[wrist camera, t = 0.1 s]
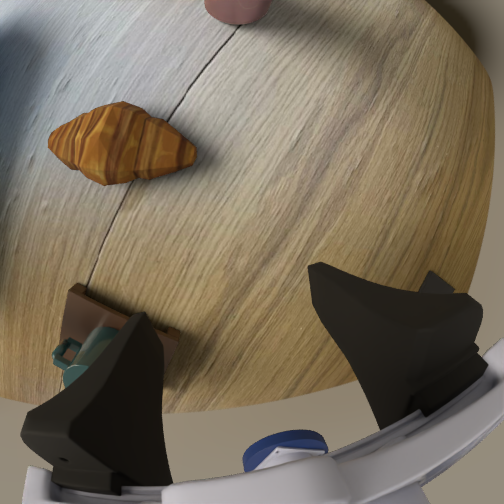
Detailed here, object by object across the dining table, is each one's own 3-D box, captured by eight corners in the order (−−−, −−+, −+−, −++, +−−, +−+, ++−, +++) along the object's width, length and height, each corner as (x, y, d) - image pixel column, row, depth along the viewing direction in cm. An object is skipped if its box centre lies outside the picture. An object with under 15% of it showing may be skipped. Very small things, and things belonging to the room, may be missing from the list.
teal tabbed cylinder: (137, 382, 23) (125, 425, 18) (67, 349, 21) (42, 385, 16) (151, 344, 22) (139, 388, 17) (74, 308, 21) (45, 341, 15)
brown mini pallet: (156, 386, 26) (153, 398, 24) (65, 344, 23) (57, 354, 21) (180, 330, 25) (179, 342, 23) (77, 282, 22) (68, 290, 20)
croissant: (207, 117, 21) (206, 100, 16) (189, 197, 22) (184, 201, 17) (66, 105, 18) (39, 92, 13) (50, 177, 19) (20, 178, 15)
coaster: (429, 330, 30) (431, 332, 30) (403, 317, 29) (405, 319, 28) (452, 288, 29) (454, 289, 29) (429, 270, 28) (431, 271, 27)
